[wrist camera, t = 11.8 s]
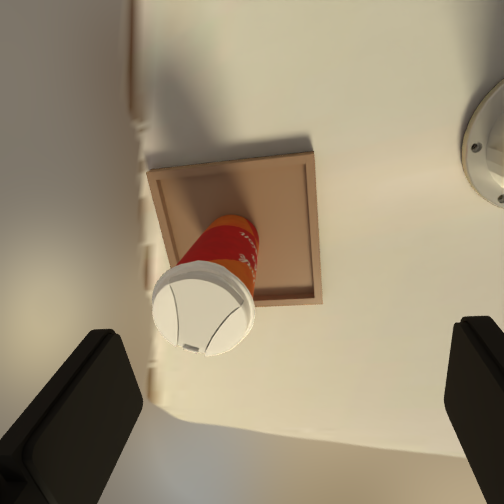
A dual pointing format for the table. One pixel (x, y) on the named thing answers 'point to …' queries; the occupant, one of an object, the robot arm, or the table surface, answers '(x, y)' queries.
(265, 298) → the tray
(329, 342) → the table surface
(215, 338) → the paper cup
